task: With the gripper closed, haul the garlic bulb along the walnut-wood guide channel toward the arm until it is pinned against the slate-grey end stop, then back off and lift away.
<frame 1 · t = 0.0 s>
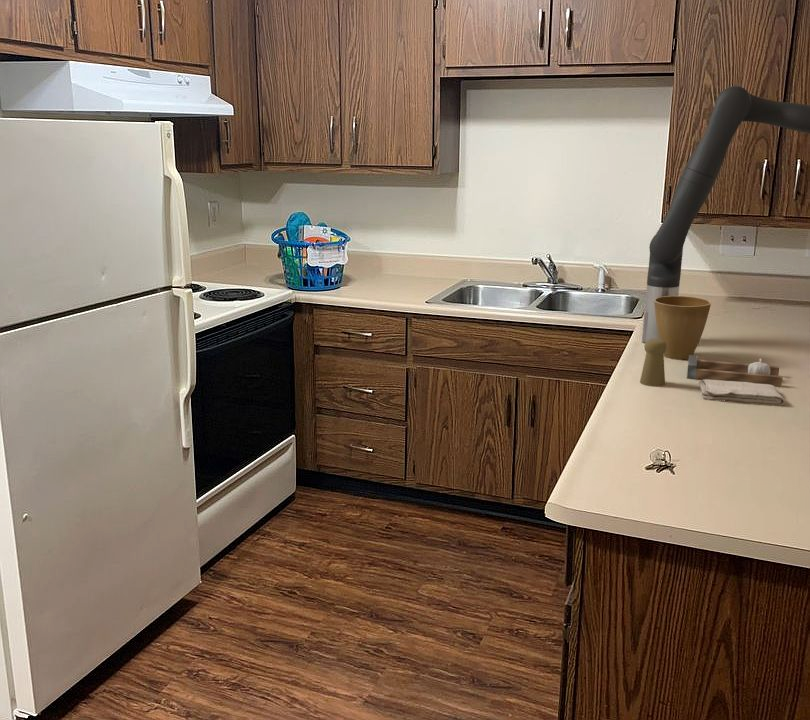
olive green shaker: (652, 383, 203), on the worktop
washcloth: (739, 398, 193), on the worktop
plant pot: (677, 357, 229), on the worktop
garlic: (757, 380, 207), on the worktop
guide track: (732, 376, 209), on the worktop
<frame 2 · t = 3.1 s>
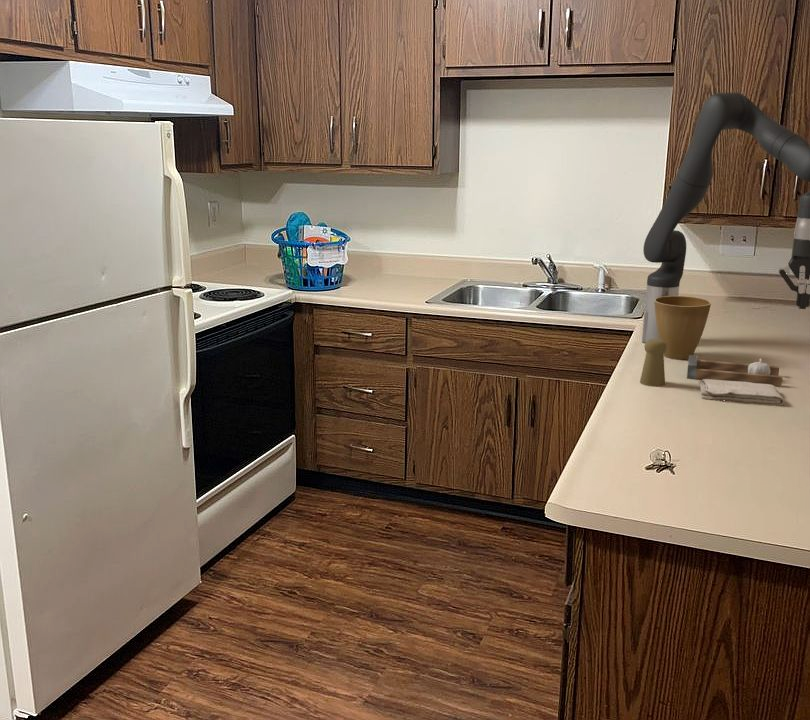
hand: (802, 308, 200), 19 cm above the worktop, fingers closed
nothing on the worktop moved.
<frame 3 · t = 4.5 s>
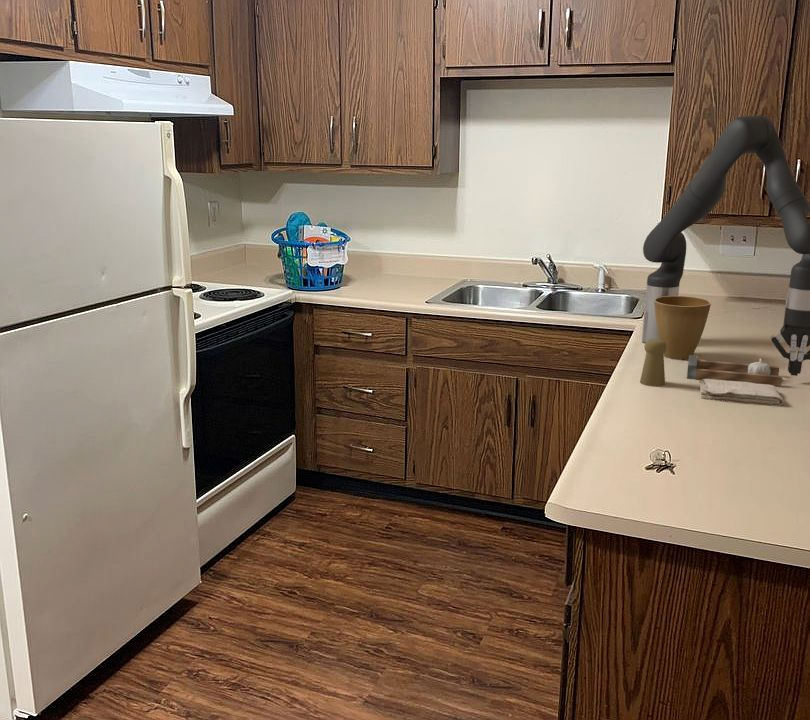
hand: (793, 374, 204), 2 cm above the worktop, fingers closed
nothing on the worktop moved.
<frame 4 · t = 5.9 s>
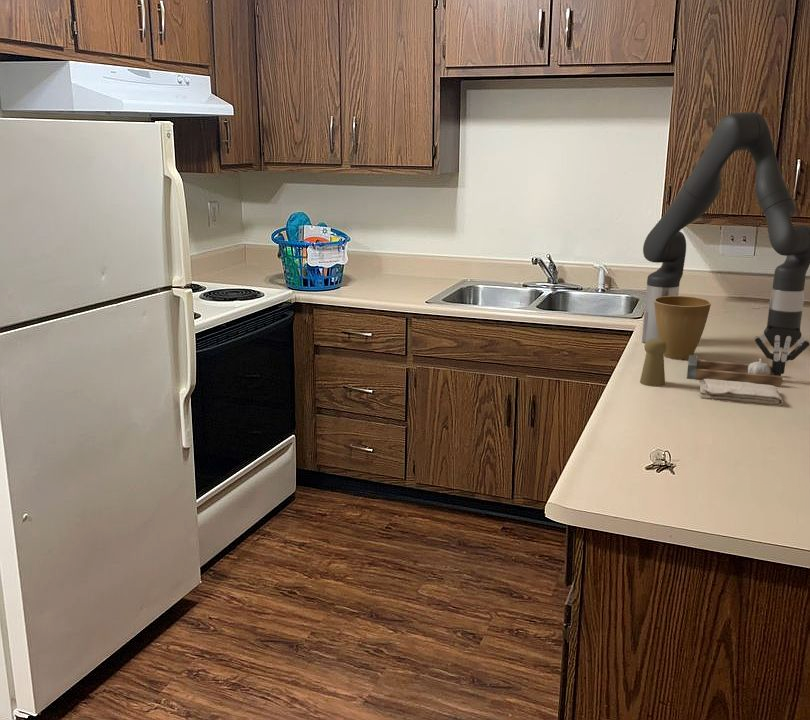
hand: (777, 375, 205), 1 cm above the worktop, fingers closed
garlic: (757, 380, 207), on the worktop, touching gripper
everything else where it was.
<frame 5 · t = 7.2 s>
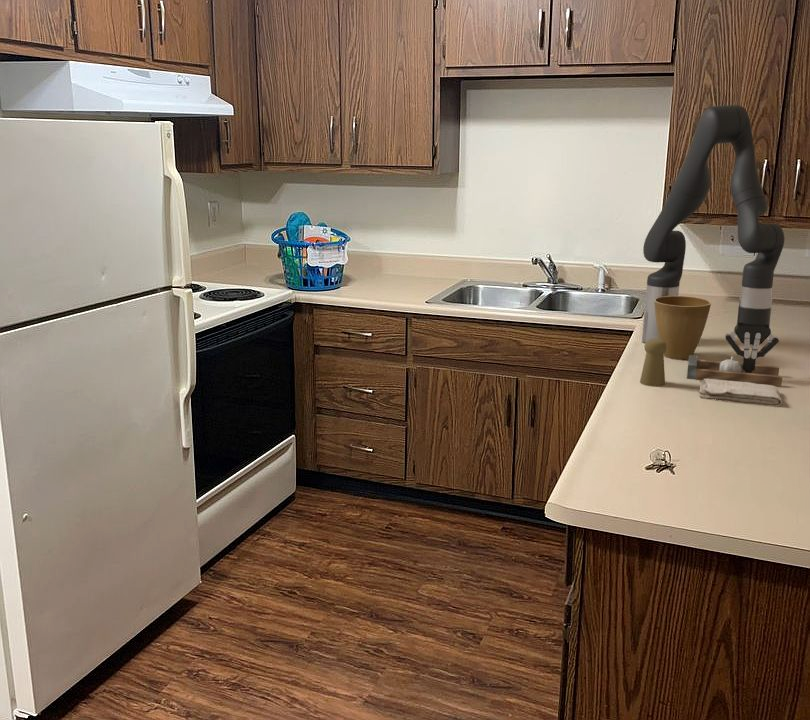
hand: (748, 372, 207), 2 cm above the worktop, fingers closed
garlic: (729, 377, 209), on the worktop, touching gripper
everything else where it was.
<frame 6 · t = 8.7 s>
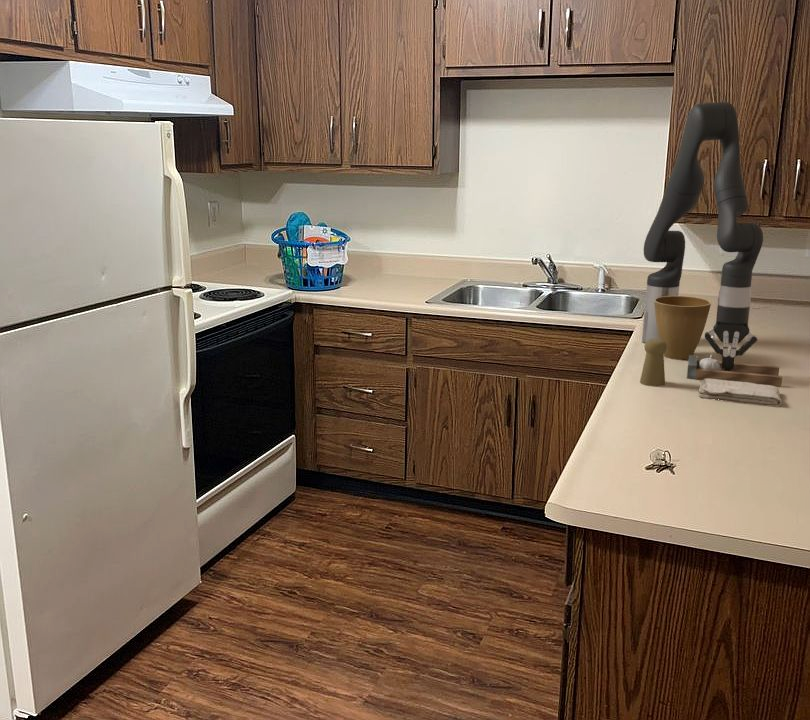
hand: (727, 370, 209), 2 cm above the worktop, fingers closed
garlic: (708, 375, 211), on the worktop, touching gripper
everything else where it was.
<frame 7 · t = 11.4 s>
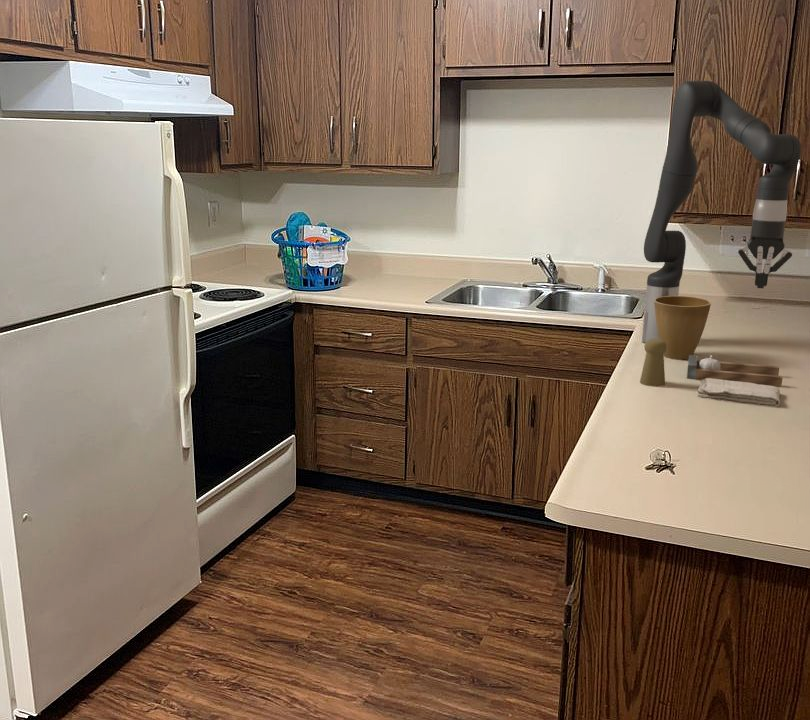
hand: (760, 287, 206), 23 cm above the worktop, fingers closed
garlic: (708, 376, 211), on the worktop
everything else where it was.
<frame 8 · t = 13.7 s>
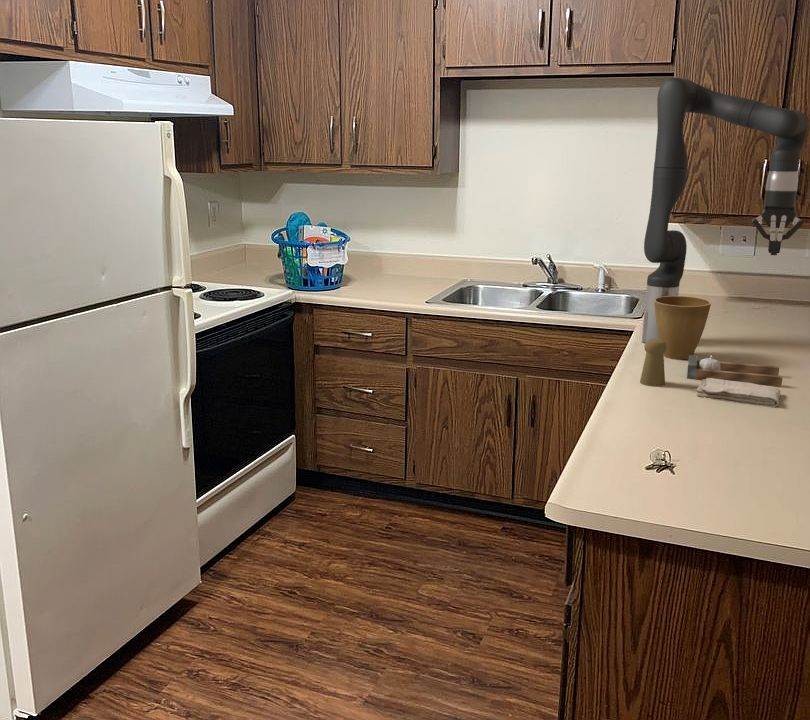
hand: (773, 254, 219), 29 cm above the worktop, fingers closed
nothing on the worktop moved.
at the end: garlic 0.6 cm from the target spot on the guide track, point 0.0 cm above the guide track's base; garlic moved 11.8 cm from its start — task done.
